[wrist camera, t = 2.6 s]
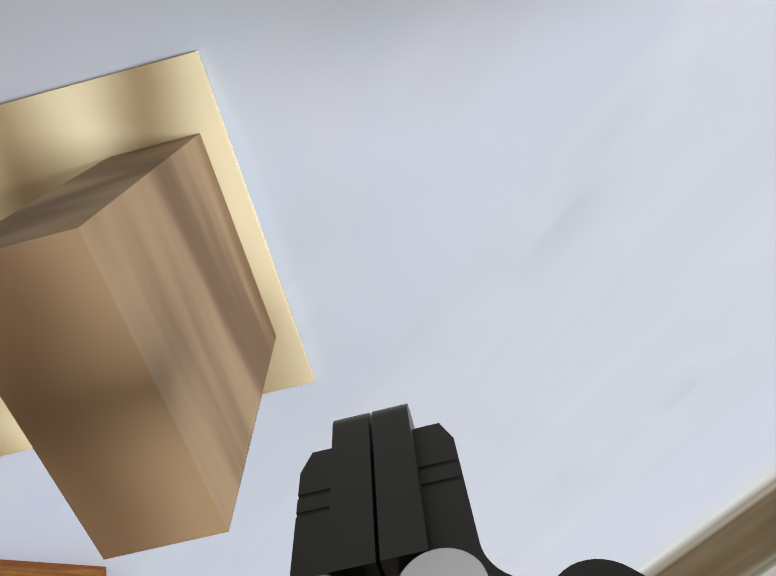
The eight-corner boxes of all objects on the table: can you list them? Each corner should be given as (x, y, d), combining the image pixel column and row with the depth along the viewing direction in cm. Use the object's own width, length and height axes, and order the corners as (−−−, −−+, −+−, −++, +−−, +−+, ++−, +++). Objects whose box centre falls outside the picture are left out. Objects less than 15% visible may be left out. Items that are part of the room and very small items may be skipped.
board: (198, 50, 24) (196, 51, 23) (314, 377, 30) (314, 381, 30) (-258, 174, 25) (-267, 177, 25) (-50, 463, 32) (-54, 468, 31)
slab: (199, 133, 25) (78, 227, 14) (276, 336, 29) (228, 531, 18) (108, 157, 25) (-82, 268, 14) (197, 355, 29) (104, 559, 18)
